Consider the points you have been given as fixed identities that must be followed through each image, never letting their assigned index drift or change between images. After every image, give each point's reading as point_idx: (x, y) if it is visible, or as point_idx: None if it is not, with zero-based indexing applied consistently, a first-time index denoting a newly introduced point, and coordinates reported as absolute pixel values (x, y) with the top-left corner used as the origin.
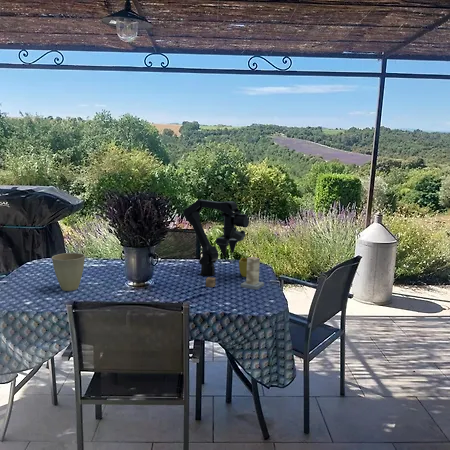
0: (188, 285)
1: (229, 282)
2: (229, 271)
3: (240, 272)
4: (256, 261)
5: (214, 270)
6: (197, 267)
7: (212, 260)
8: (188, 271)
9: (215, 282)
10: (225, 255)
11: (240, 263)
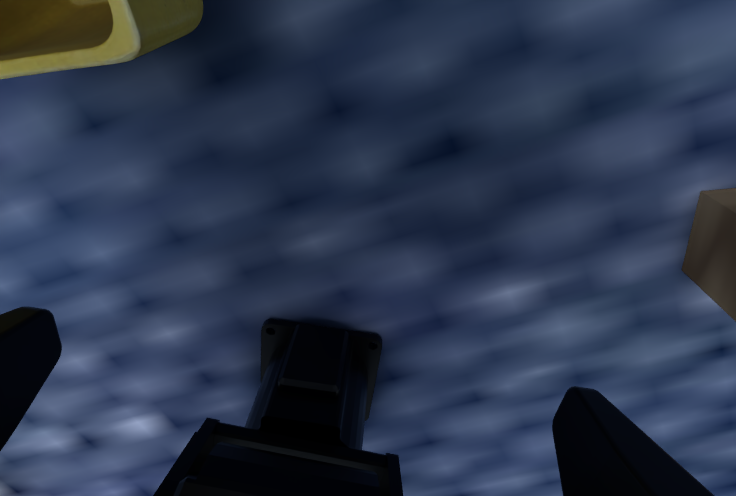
0: (732, 399)
1: (537, 70)
2: (81, 224)
3: (202, 11)
4: None
5: (294, 346)
6: (162, 475)
7: (348, 472)
8: None
9: (725, 204)
10: (601, 403)
11: (149, 7)
